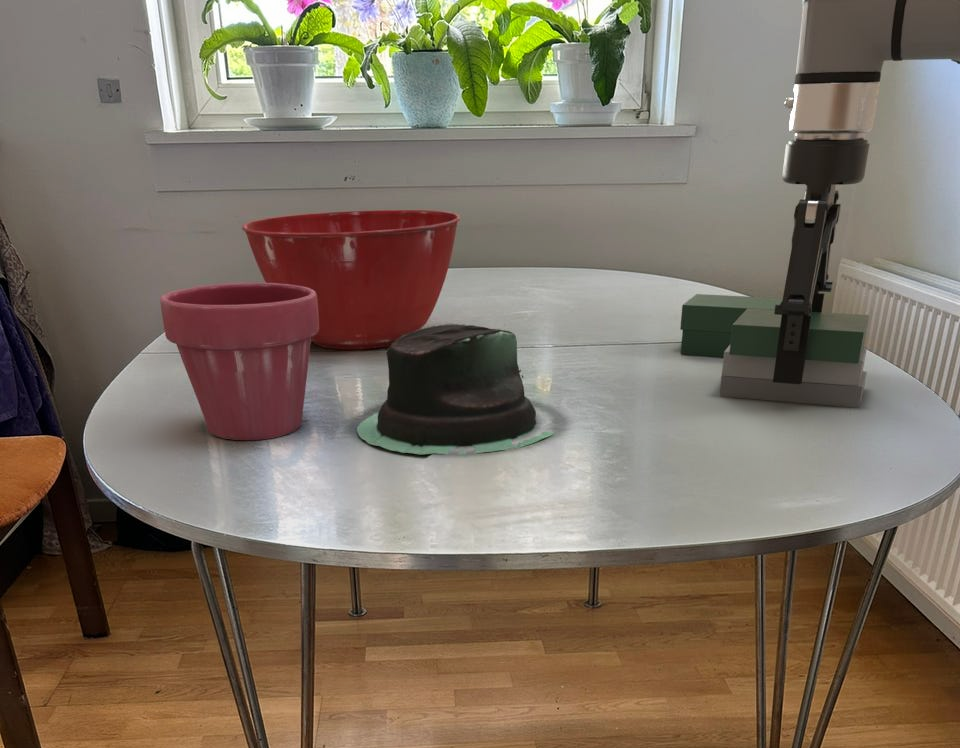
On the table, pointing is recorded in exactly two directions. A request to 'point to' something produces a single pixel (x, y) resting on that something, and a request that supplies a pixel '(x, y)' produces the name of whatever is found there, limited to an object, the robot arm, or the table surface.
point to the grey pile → (817, 387)
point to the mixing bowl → (360, 268)
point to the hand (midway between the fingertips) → (794, 368)
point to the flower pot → (245, 353)
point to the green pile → (715, 321)
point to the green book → (826, 342)
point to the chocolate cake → (452, 393)
